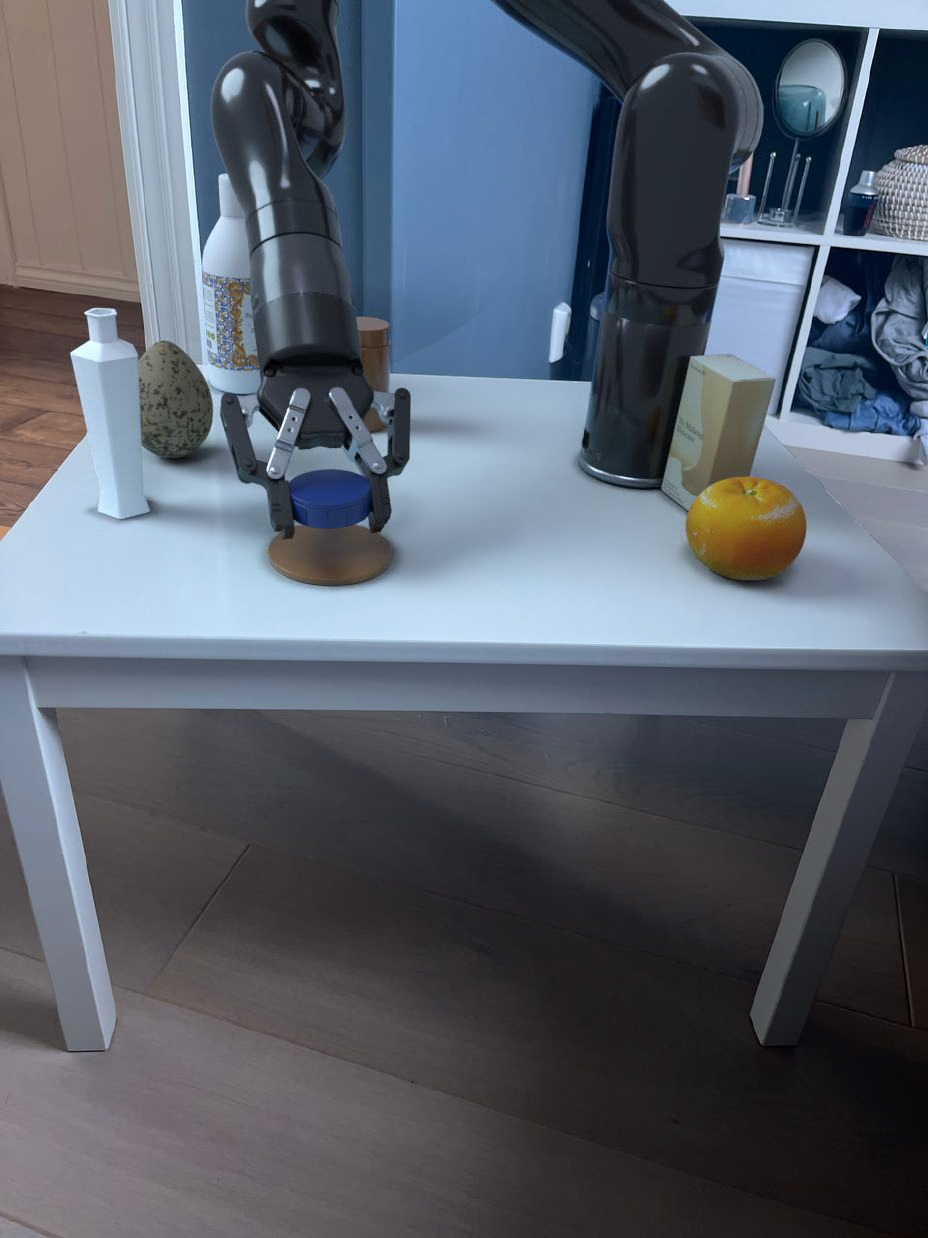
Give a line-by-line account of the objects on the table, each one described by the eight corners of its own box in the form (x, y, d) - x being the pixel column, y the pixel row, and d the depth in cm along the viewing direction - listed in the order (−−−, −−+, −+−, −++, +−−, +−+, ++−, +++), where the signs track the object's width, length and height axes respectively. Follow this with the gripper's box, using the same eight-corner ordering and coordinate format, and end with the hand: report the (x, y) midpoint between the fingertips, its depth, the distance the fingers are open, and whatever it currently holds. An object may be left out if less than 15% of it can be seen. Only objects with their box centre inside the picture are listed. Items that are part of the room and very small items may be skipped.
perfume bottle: (139, 525, 73) (116, 324, 65) (85, 516, 74) (56, 316, 66) (167, 500, 77) (149, 308, 69) (116, 492, 78) (91, 300, 70)
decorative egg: (158, 434, 88) (147, 323, 83) (230, 448, 87) (224, 336, 82) (113, 463, 82) (99, 345, 77) (190, 478, 81) (180, 359, 76)
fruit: (654, 499, 75) (729, 436, 70) (731, 524, 80) (806, 466, 74) (681, 591, 71) (762, 531, 66) (760, 612, 76) (842, 558, 70)
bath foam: (233, 400, 97) (222, 183, 86) (196, 380, 101) (181, 171, 91) (291, 388, 101) (287, 180, 91) (253, 369, 105) (245, 168, 95)
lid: (272, 509, 70) (270, 484, 68) (334, 485, 73) (333, 462, 72) (324, 537, 66) (323, 512, 65) (387, 511, 70) (387, 487, 69)
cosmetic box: (658, 490, 86) (685, 353, 79) (699, 486, 87) (729, 351, 81) (701, 522, 81) (733, 379, 74) (743, 516, 83) (778, 375, 76)
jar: (381, 412, 97) (385, 315, 92) (393, 431, 93) (397, 330, 88) (332, 414, 96) (332, 316, 91) (342, 433, 92) (343, 331, 87)
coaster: (376, 523, 76) (377, 517, 76) (405, 579, 69) (405, 573, 69) (260, 531, 74) (260, 525, 73) (277, 591, 67) (277, 584, 66)
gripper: (389, 339, 77) (420, 541, 74) (203, 341, 73) (227, 555, 70) (409, 288, 70) (444, 509, 67) (205, 287, 66) (231, 522, 63)
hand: (333, 532), depth 69 cm, fingers closed on lid, 5 cm apart
